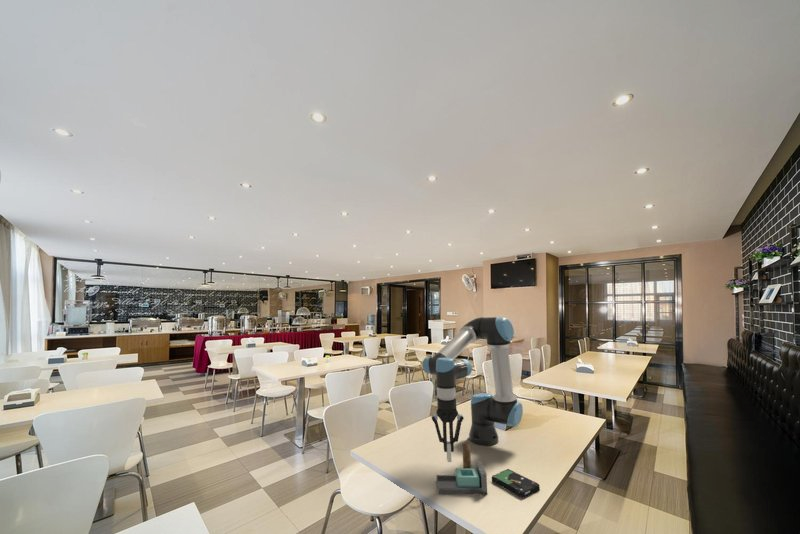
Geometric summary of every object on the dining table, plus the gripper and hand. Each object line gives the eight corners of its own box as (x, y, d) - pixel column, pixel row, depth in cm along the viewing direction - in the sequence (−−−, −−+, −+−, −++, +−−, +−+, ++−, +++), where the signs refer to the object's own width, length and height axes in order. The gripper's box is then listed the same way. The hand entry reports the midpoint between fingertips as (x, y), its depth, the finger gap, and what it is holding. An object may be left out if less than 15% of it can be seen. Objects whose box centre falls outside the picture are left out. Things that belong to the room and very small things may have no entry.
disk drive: (540, 492, 120) (508, 475, 132) (540, 484, 120) (507, 468, 133) (523, 500, 114) (491, 482, 127) (522, 492, 115) (490, 474, 127)
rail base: (481, 480, 127) (480, 461, 128) (487, 494, 117) (486, 474, 119) (436, 480, 128) (436, 461, 129) (438, 493, 118) (438, 473, 119)
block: (476, 479, 126) (475, 468, 127) (479, 488, 119) (479, 477, 120) (455, 479, 126) (455, 468, 127) (458, 488, 120) (457, 477, 120)
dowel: (470, 473, 133) (469, 443, 135) (472, 477, 130) (470, 446, 132) (462, 473, 133) (461, 442, 135) (464, 477, 130) (463, 446, 132)
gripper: (461, 394, 131) (464, 455, 128) (429, 395, 132) (431, 456, 129) (464, 400, 124) (467, 464, 121) (430, 400, 124) (433, 465, 121)
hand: (449, 460), depth 125 cm, fingers closed
